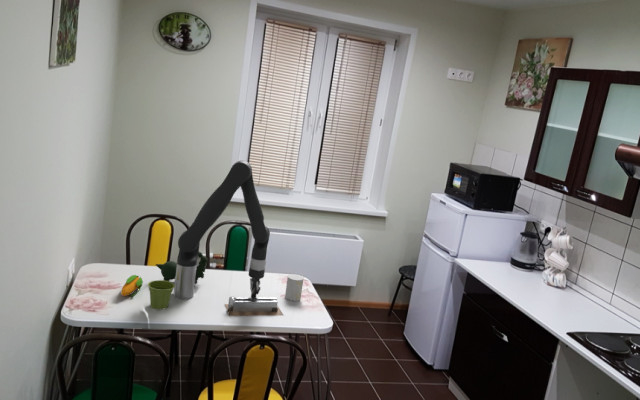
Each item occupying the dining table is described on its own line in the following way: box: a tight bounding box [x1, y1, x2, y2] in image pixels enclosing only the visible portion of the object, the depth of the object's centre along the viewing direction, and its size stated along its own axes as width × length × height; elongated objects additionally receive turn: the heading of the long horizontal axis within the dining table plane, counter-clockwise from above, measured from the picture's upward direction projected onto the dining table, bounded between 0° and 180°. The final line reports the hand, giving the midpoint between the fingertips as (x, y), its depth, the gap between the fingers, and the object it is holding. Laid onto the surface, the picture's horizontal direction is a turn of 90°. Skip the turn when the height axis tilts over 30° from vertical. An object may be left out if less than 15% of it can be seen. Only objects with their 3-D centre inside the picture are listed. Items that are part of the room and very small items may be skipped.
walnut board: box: [224, 303, 284, 317], centre depth 259 cm, size 26×13×1 cm, turn 110°
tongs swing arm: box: [235, 297, 278, 301], centre depth 260 cm, size 20×2×5 cm, turn 110°
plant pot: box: [147, 279, 175, 310], centre depth 247 cm, size 12×12×11 cm
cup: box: [284, 274, 305, 302], centre depth 280 cm, size 8×8×12 cm
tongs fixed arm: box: [228, 296, 279, 312], centre depth 258 cm, size 24×4×6 cm, turn 110°
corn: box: [120, 274, 144, 297], centre depth 259 cm, size 7×8×20 cm
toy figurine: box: [155, 251, 208, 285], centre depth 279 cm, size 9×19×25 cm
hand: (252, 300), depth 265 cm, fingers closed
